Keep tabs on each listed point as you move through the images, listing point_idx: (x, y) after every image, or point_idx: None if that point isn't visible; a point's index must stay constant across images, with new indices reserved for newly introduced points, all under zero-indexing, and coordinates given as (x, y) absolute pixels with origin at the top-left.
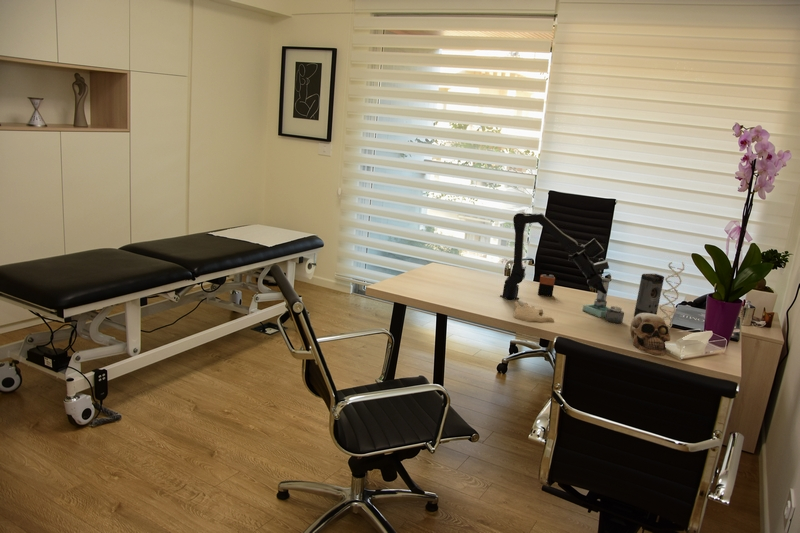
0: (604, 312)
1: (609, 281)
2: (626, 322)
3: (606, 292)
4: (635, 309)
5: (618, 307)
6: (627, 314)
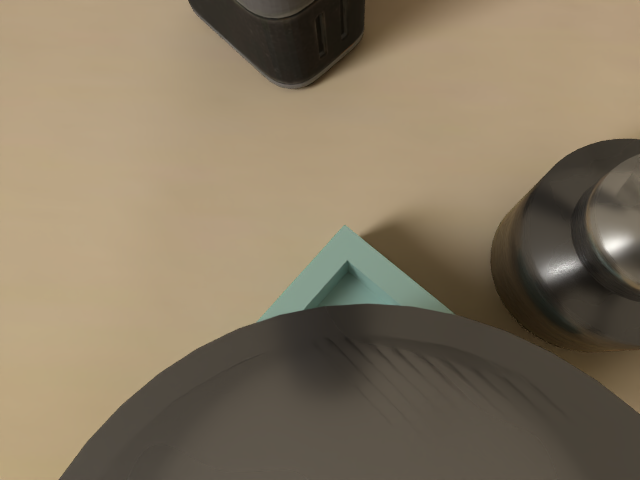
0: None
1: (501, 349)
2: (515, 152)
3: None
4: (296, 32)
5: (623, 189)
6: (213, 136)
